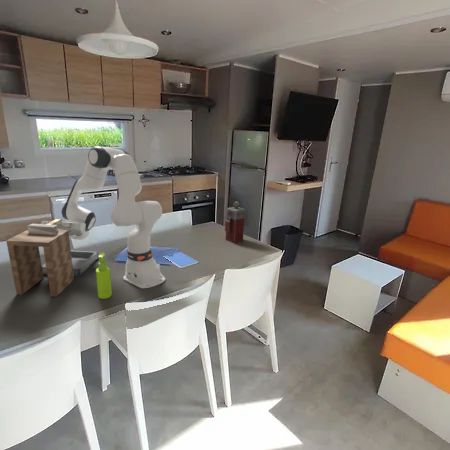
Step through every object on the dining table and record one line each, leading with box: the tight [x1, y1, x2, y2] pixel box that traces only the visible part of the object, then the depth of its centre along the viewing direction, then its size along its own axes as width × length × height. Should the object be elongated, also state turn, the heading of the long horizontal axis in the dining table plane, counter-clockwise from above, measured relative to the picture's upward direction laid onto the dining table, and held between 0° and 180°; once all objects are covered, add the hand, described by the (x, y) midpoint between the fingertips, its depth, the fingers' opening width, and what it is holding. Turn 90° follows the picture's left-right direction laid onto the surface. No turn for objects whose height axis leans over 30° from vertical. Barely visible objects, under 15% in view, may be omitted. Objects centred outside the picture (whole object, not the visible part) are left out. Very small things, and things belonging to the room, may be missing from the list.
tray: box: [41, 249, 99, 277], centre depth 164 cm, size 22×20×4 cm
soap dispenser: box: [95, 252, 113, 300], centre depth 135 cm, size 6×7×20 cm
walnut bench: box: [5, 229, 75, 297], centre depth 139 cm, size 16×18×26 cm
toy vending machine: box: [224, 201, 246, 244], centre depth 208 cm, size 9×11×28 cm
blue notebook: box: [163, 251, 199, 269], centre depth 178 cm, size 19×13×1 cm, turn 42°
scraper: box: [27, 218, 63, 234], centre depth 143 cm, size 15×12×4 cm
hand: (54, 223), depth 146 cm, fingers open, 5 cm apart
